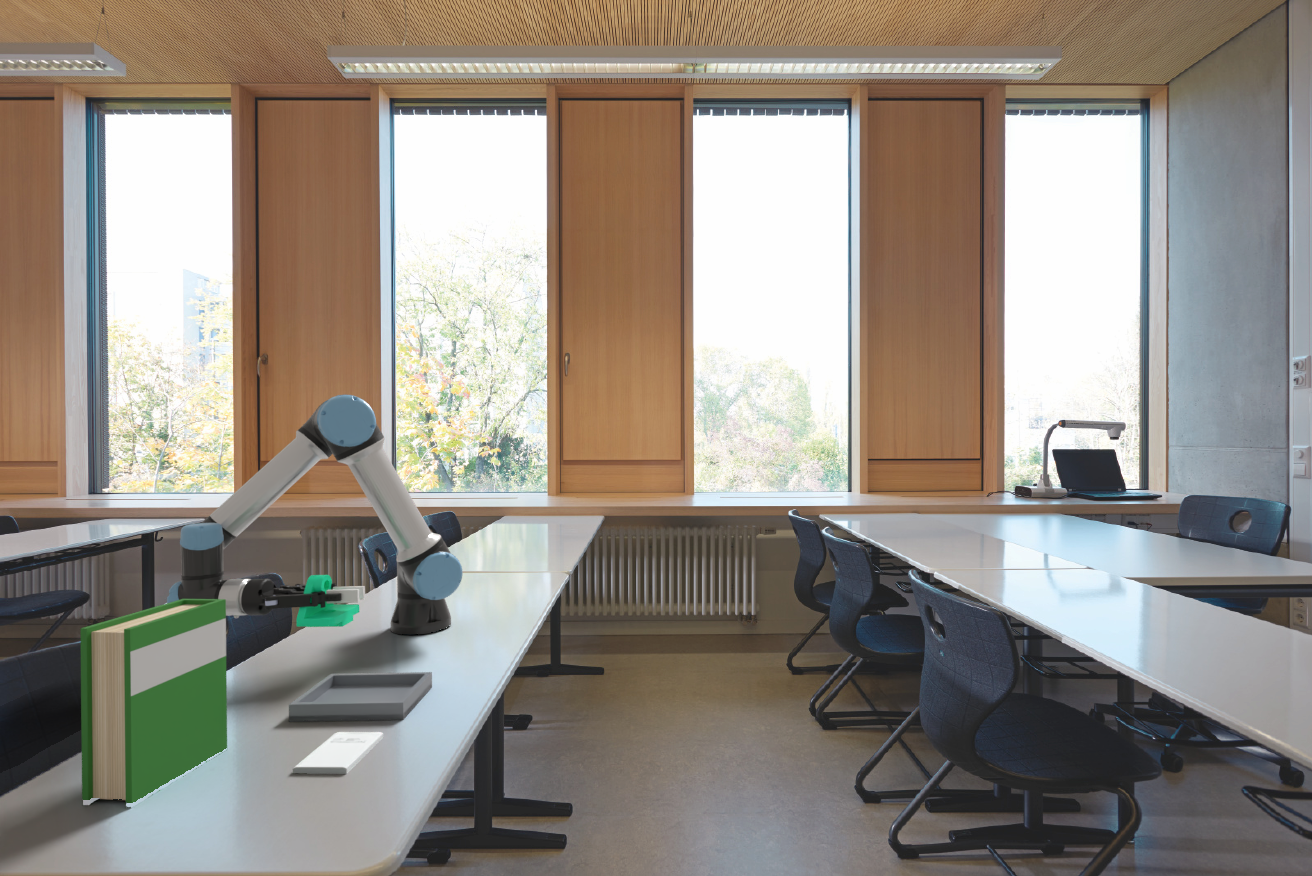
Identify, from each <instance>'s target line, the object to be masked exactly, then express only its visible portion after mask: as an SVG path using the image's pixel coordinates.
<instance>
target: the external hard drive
mask: <svg viewBox="0 0 1312 876" xmlns="http://www.w3.org/2000/svg"><path fill="white" fill-rule="evenodd" d="M383 738H384V733H383V732H381V731H372V732H371V731H338V732H335V733H333V734H332V735H331V736H330V737H328V738H327V739H326V740H324V742H322V743H321V744H320V745H319V746H318V747H317V748H315V749H314V750H313V751H311V752H310V753H309V754H308V755H307V756H305V758H302V760H301V761H300V762H299V763H297V764H296V765H295V766H294V767H292V774H293V773H307V774H306V775H309V774H310V775H319V774H320V775H347V774H348V773H349V772H351V770H353V768H354V767H355V766H357V765H358V763H360V761H361V760H363V759H364V758H365V757H366V756H367V755H368V753H370V752H371V751H372V749H374V748H375V747H376V746H377V745H378V744H379V743H380V742H381V741H382V740H383Z"/></svg>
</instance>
